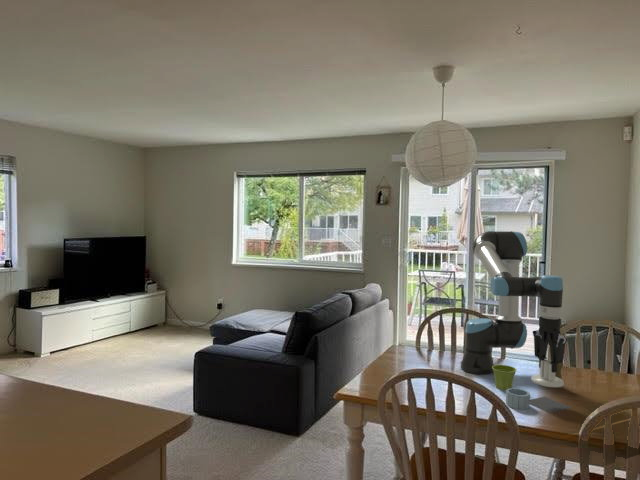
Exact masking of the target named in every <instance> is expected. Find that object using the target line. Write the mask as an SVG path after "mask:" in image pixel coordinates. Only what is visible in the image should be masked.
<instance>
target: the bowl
mask: <svg viewBox="0 0 640 480" xmlns="http://www.w3.org/2000/svg"><path fill="white" fill-rule="evenodd" d="M530 400H531V393H530V392H529V391H528V390H525V389H522V388H517V387H512V388H510V389H507V390H505V404H507V405H506V406H507V407H509V408H510V409H515V410H522V411H526V410H528V409H530V406H531V405H530Z"/></svg>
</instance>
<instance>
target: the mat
mask: <svg viewBox="0 0 640 480" xmlns="http://www.w3.org/2000/svg"><path fill="white" fill-rule="evenodd" d="M530 406H532V407H535V408H537V409H540V410H542V411H543V412H546V413H549V414H552V413H556V412H561V411H565V410H568V409H573V407H571V406H569V405H566V404H564V403H562V402H559V401H556V400H554V399H551V398H549V397H546V396H541V397H536V398H532V399H531V398H530Z"/></svg>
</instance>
